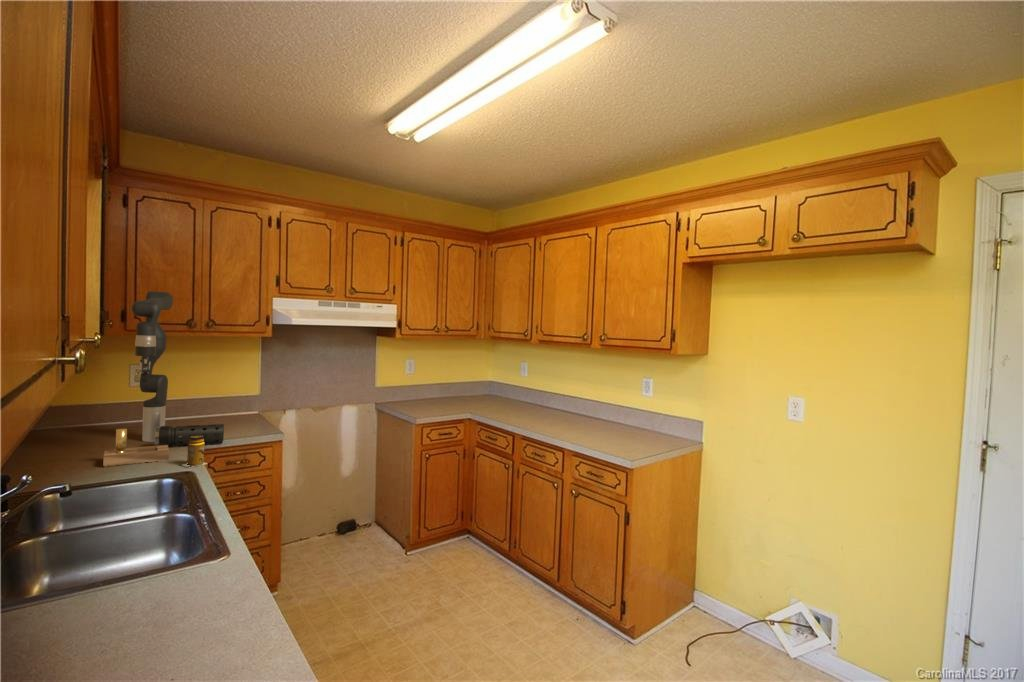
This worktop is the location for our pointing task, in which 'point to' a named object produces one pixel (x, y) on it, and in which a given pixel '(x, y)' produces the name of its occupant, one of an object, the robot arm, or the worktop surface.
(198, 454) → the condiment
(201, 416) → the worktop surface
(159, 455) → the keyhole board
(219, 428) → the muzzle brake
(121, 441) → the brass peg
